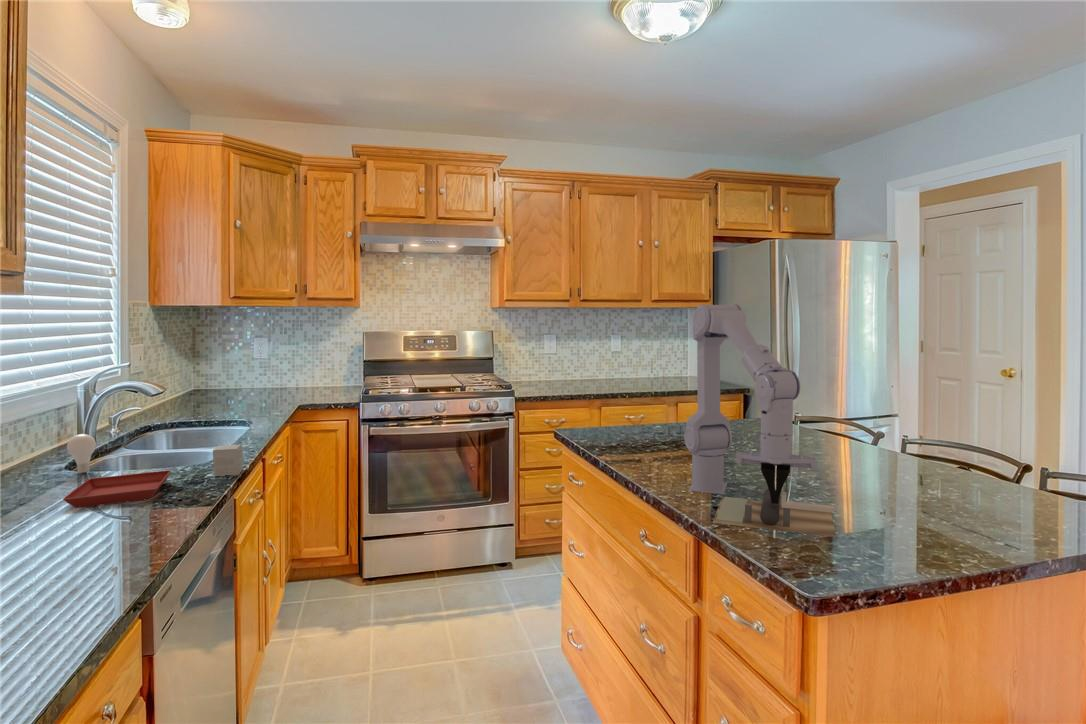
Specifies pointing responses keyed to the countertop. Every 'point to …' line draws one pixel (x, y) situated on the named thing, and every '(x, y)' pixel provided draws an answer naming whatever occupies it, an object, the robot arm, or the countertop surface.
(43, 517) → the countertop surface
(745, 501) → the board
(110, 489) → the plant saucer
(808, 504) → the beige l-shaped block
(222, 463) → the product box
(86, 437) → the lightbulb
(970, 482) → the countertop surface
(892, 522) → the countertop surface
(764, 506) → the dark grey rod
